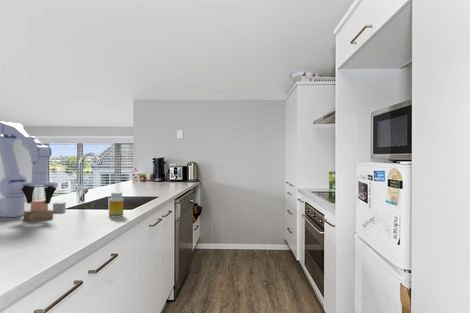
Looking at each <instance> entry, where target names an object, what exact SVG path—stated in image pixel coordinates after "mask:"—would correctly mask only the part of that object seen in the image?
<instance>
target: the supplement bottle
mask: <svg viewBox="0 0 470 313" xmlns="http://www.w3.org/2000/svg"><path fill="white" fill-rule="evenodd" d="M110 195H111V196H110V198H109V200H108V217H109V218H114V219H115V218H122V217H124V201H125V200H124V197H123V192H121V191H115V192H113V191H112V192H111V193H110Z"/></svg>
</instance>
